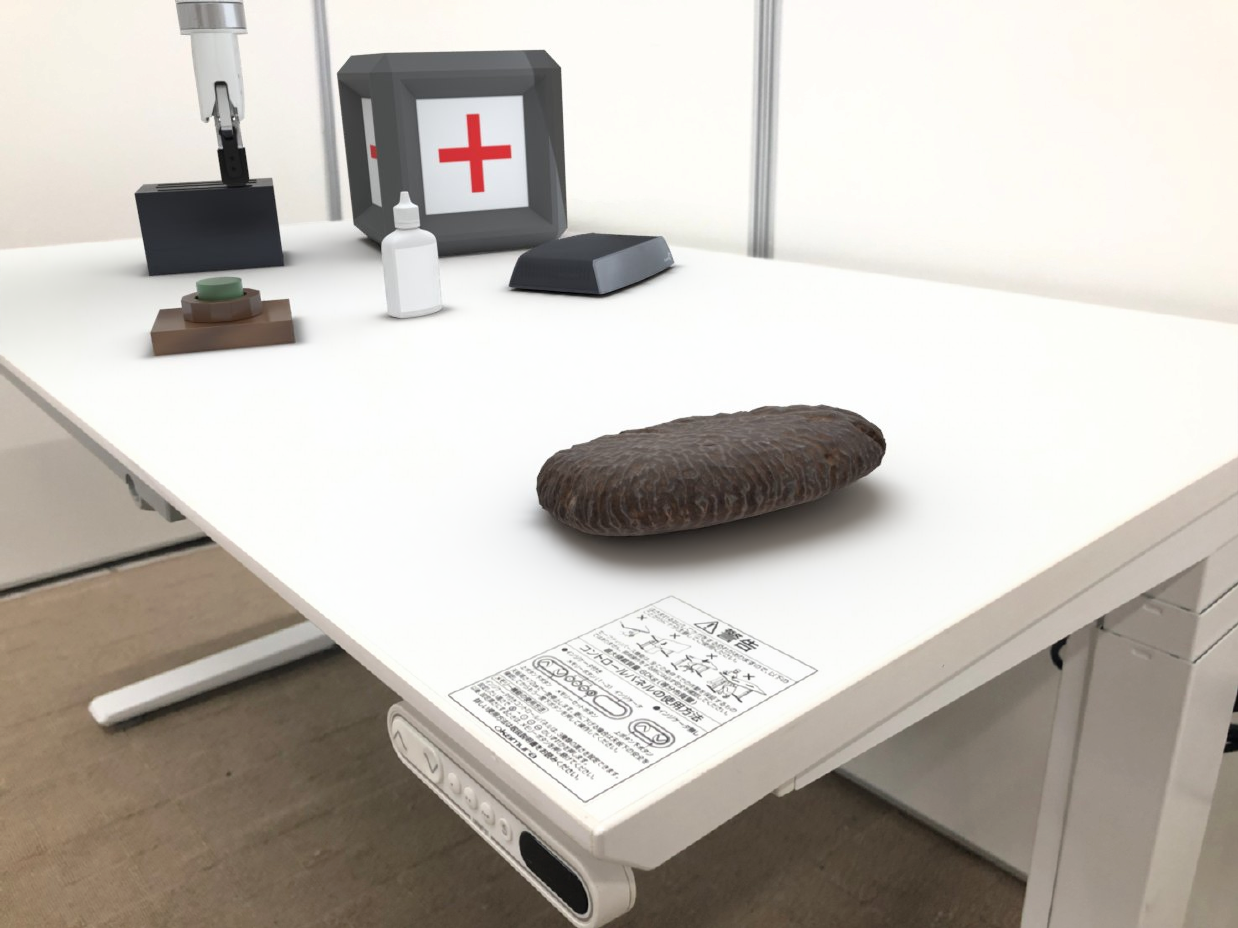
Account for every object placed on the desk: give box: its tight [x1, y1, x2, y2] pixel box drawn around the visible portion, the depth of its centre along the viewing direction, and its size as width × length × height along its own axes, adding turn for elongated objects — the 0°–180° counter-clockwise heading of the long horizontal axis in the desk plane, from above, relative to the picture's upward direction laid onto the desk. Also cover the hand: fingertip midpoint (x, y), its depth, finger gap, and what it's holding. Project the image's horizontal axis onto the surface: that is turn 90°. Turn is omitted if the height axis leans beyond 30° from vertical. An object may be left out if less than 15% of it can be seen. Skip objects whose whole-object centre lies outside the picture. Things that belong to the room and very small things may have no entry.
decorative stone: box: [535, 403, 887, 537], centre depth 59 cm, size 20×14×5 cm
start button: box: [195, 276, 244, 301], centre depth 98 cm, size 4×4×2 cm
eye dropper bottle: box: [380, 192, 443, 319], centre depth 105 cm, size 4×6×12 cm
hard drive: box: [508, 232, 675, 295], centre depth 121 cm, size 13×19×4 cm
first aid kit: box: [336, 49, 569, 257], centre depth 145 cm, size 25×25×25 cm
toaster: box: [133, 177, 285, 277], centre depth 135 cm, size 16×11×10 cm
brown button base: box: [149, 287, 296, 357], centre depth 99 cm, size 12×10×4 cm
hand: (236, 180), depth 131 cm, fingers closed
